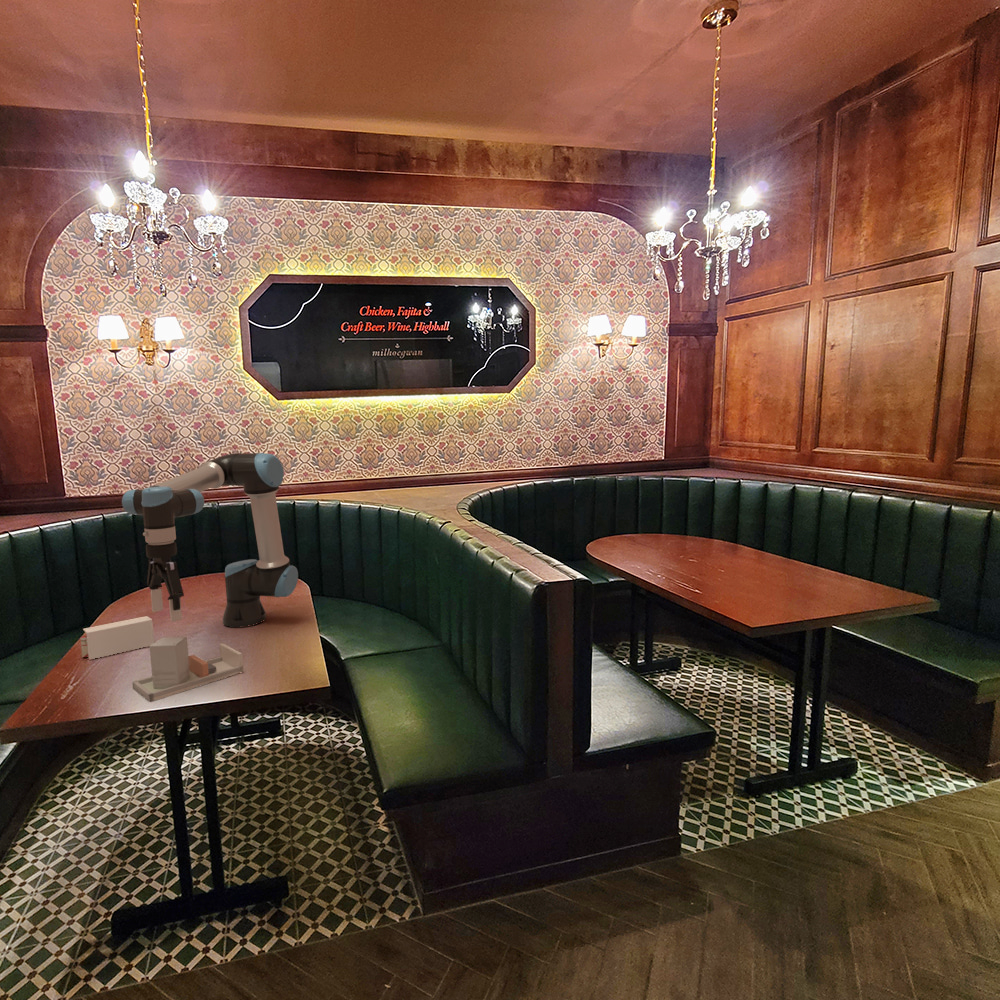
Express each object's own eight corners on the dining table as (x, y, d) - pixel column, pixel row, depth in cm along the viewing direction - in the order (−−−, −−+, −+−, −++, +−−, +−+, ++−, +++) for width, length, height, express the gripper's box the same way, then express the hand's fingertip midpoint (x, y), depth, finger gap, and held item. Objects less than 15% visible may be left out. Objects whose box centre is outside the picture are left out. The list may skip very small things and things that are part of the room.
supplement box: (191, 677, 180) (188, 635, 179) (178, 688, 173) (175, 645, 171) (165, 677, 180) (162, 636, 179) (152, 688, 173) (148, 645, 171)
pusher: (206, 665, 189) (205, 651, 188) (220, 673, 182) (219, 659, 182) (189, 670, 185) (188, 656, 185) (203, 679, 179) (202, 664, 178)
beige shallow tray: (223, 661, 194) (222, 643, 194) (243, 672, 186) (242, 653, 185) (132, 688, 175) (131, 668, 175) (149, 701, 167) (147, 680, 166)
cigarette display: (149, 642, 213) (147, 615, 212) (154, 646, 209) (152, 619, 208) (81, 657, 199) (78, 629, 198) (84, 662, 195) (82, 633, 194)
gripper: (130, 538, 177) (136, 610, 180) (163, 550, 161) (170, 628, 164) (158, 535, 183) (164, 604, 186) (193, 546, 166) (198, 621, 169)
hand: (166, 615), depth 175 cm, fingers open, 13 cm apart
